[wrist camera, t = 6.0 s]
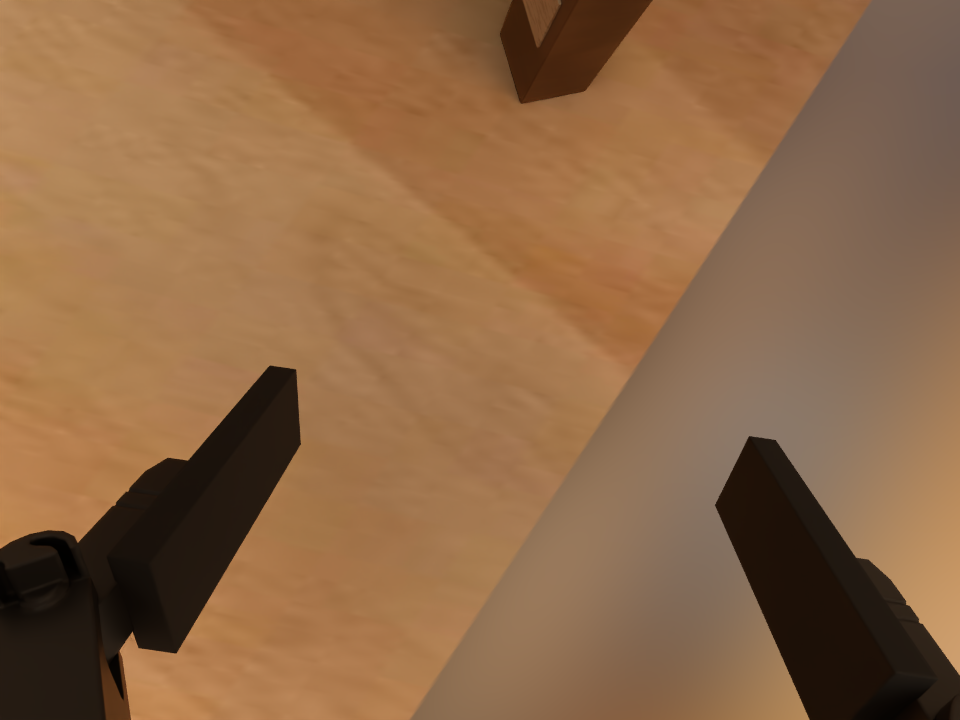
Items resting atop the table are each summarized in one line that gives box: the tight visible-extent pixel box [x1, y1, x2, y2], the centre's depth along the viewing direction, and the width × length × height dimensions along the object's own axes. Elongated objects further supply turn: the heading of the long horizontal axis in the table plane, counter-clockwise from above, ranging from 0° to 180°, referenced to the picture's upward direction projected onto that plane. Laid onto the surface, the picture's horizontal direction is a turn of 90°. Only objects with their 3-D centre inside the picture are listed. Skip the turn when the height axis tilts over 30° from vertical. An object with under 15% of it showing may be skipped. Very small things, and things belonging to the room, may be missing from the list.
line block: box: [500, 0, 652, 103], centre depth 31 cm, size 5×5×10 cm
